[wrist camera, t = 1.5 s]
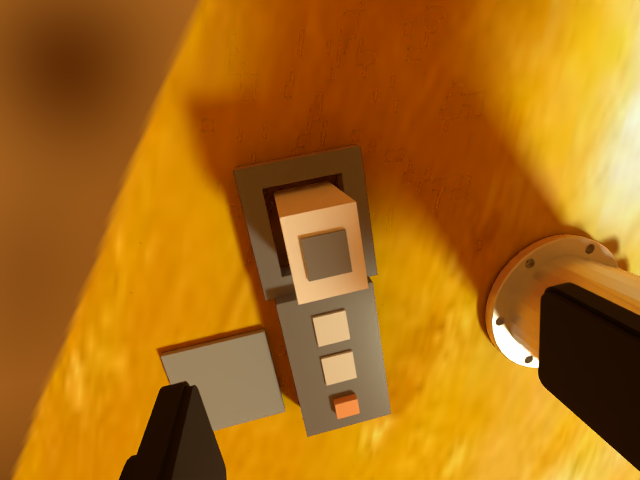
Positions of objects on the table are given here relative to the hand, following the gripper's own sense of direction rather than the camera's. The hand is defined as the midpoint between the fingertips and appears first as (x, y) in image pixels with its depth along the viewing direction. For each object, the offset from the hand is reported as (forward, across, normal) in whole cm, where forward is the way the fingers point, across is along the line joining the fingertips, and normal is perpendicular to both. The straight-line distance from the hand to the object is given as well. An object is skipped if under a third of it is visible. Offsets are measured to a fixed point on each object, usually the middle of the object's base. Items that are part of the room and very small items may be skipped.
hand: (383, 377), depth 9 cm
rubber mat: (+18, +8, +12) cm, 23 cm away
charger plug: (+18, -1, 0) cm, 18 cm away
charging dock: (+18, -1, +6) cm, 19 cm away
